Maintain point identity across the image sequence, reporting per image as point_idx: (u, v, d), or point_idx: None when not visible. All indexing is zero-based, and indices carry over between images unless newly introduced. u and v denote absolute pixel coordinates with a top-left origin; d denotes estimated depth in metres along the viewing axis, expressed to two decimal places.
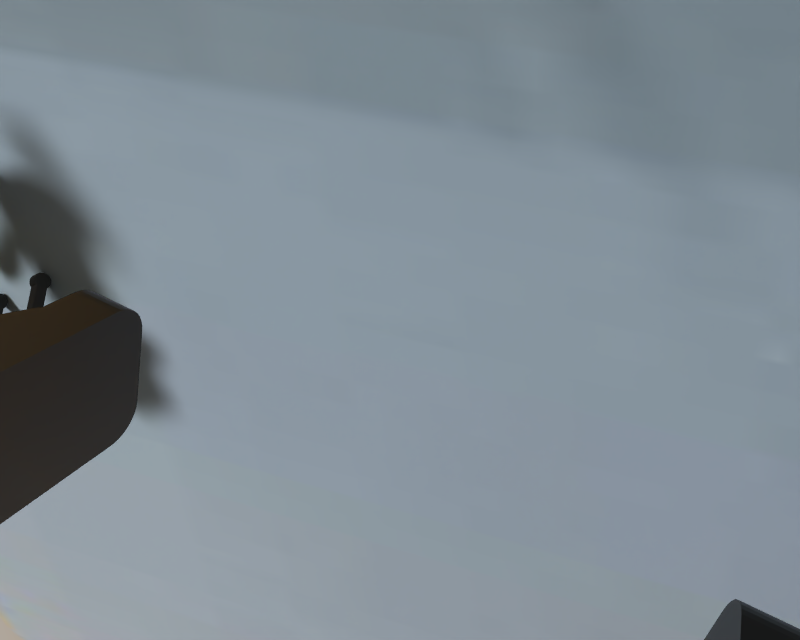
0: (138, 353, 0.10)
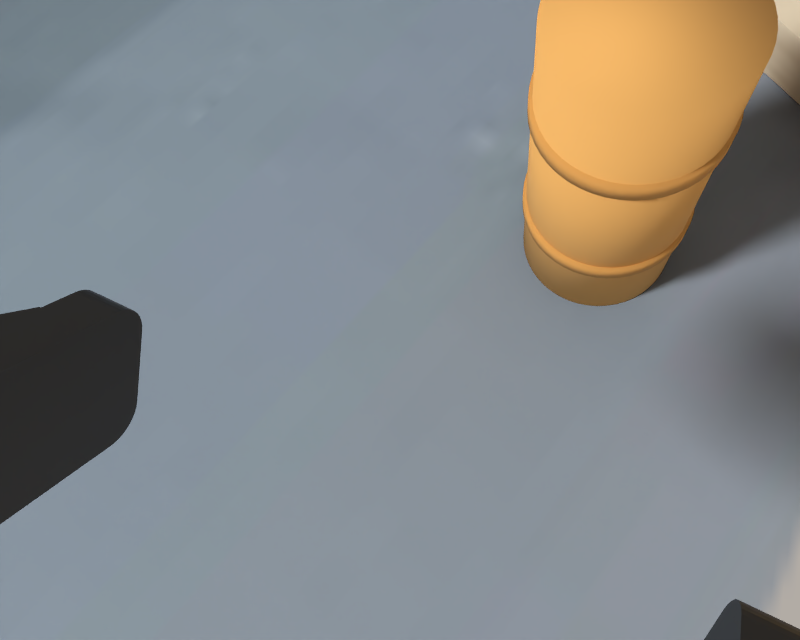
0: (138, 353, 0.10)
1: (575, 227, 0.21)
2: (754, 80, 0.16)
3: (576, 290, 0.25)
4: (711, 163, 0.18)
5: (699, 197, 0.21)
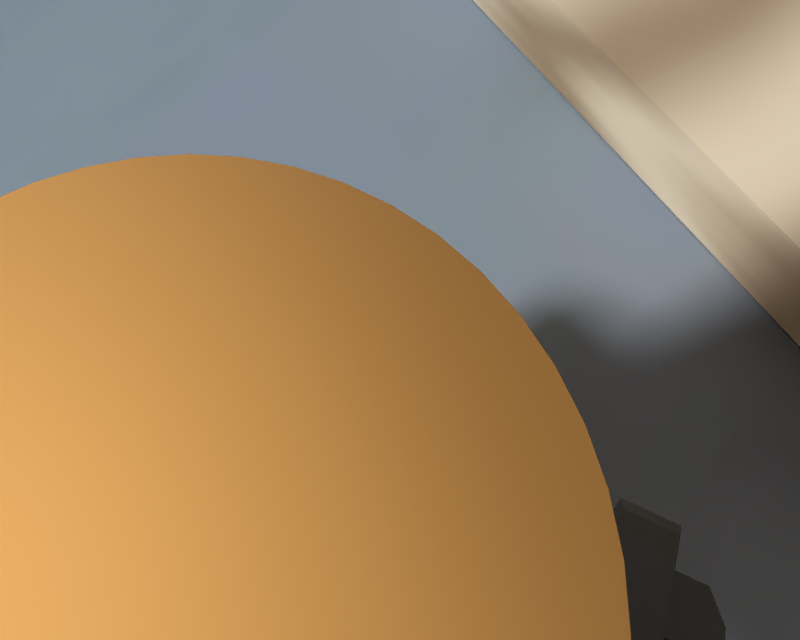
0: None
1: None
2: None
3: None
4: None
5: None
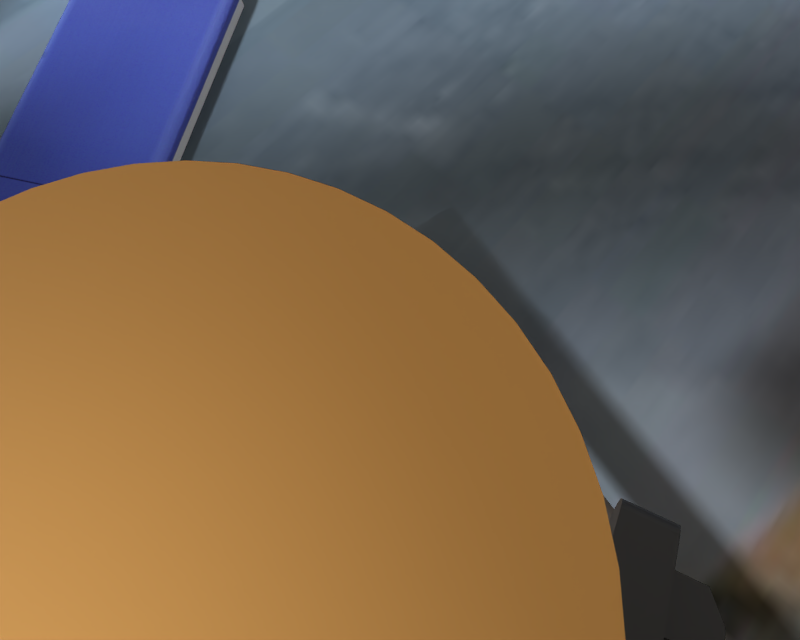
0: None
1: None
2: None
3: None
4: None
5: None
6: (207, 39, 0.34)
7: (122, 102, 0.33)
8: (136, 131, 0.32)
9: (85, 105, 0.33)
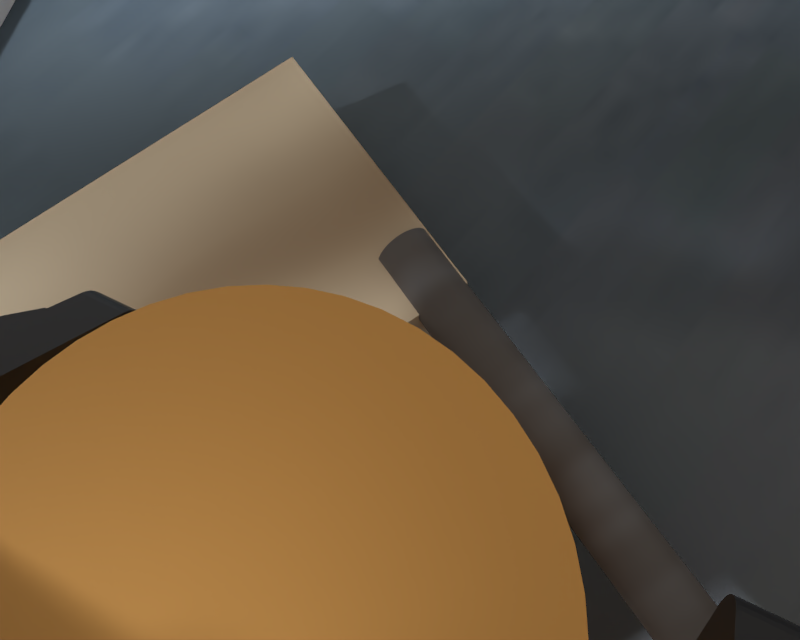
0: None
1: None
2: None
3: None
4: None
5: None
6: None
7: None
8: None
9: None
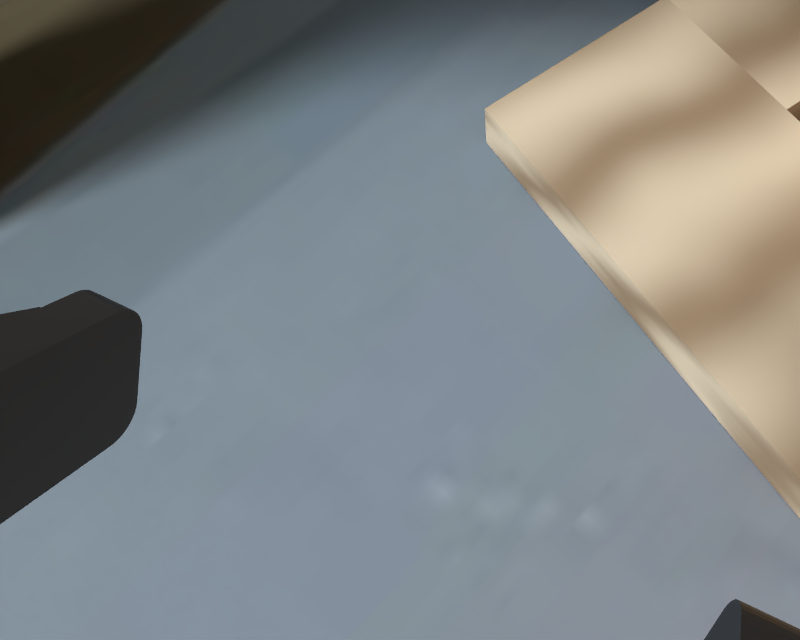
0: (138, 353, 0.10)
1: None
2: None
3: None
4: None
5: None
6: None
7: None
8: None
9: None
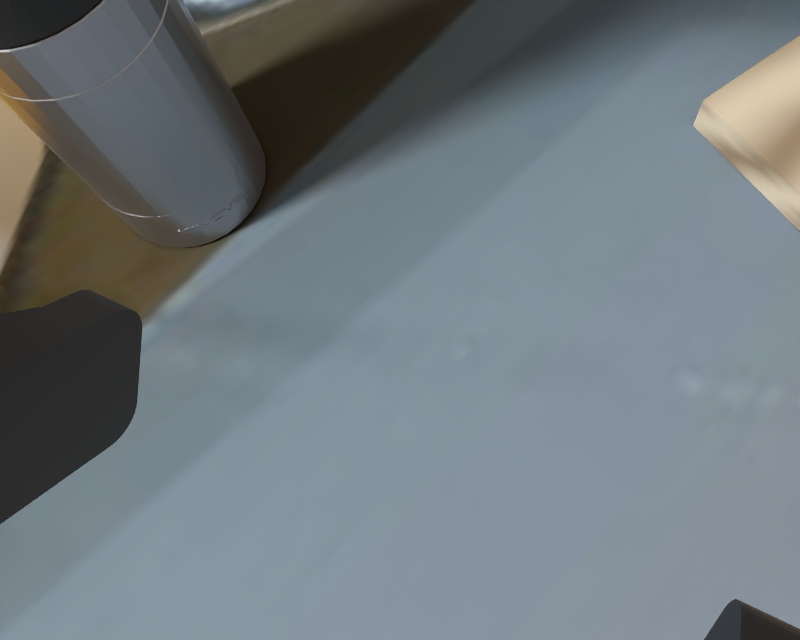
0: (138, 353, 0.10)
1: None
2: None
3: None
4: None
5: None
6: None
7: None
8: None
9: None
